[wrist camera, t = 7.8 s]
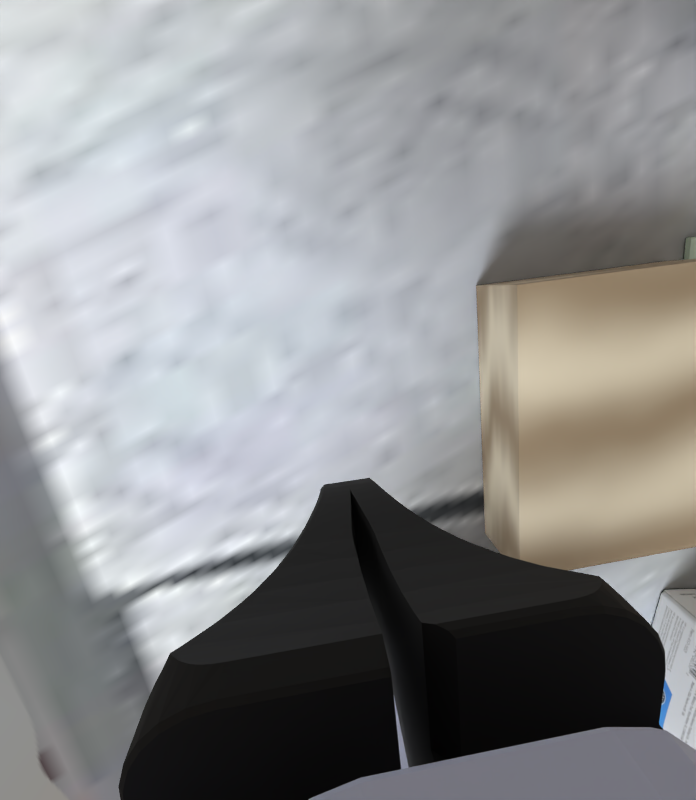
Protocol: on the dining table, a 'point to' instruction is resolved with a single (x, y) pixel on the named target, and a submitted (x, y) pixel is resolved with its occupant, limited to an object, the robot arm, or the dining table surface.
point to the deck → (589, 414)
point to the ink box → (678, 662)
